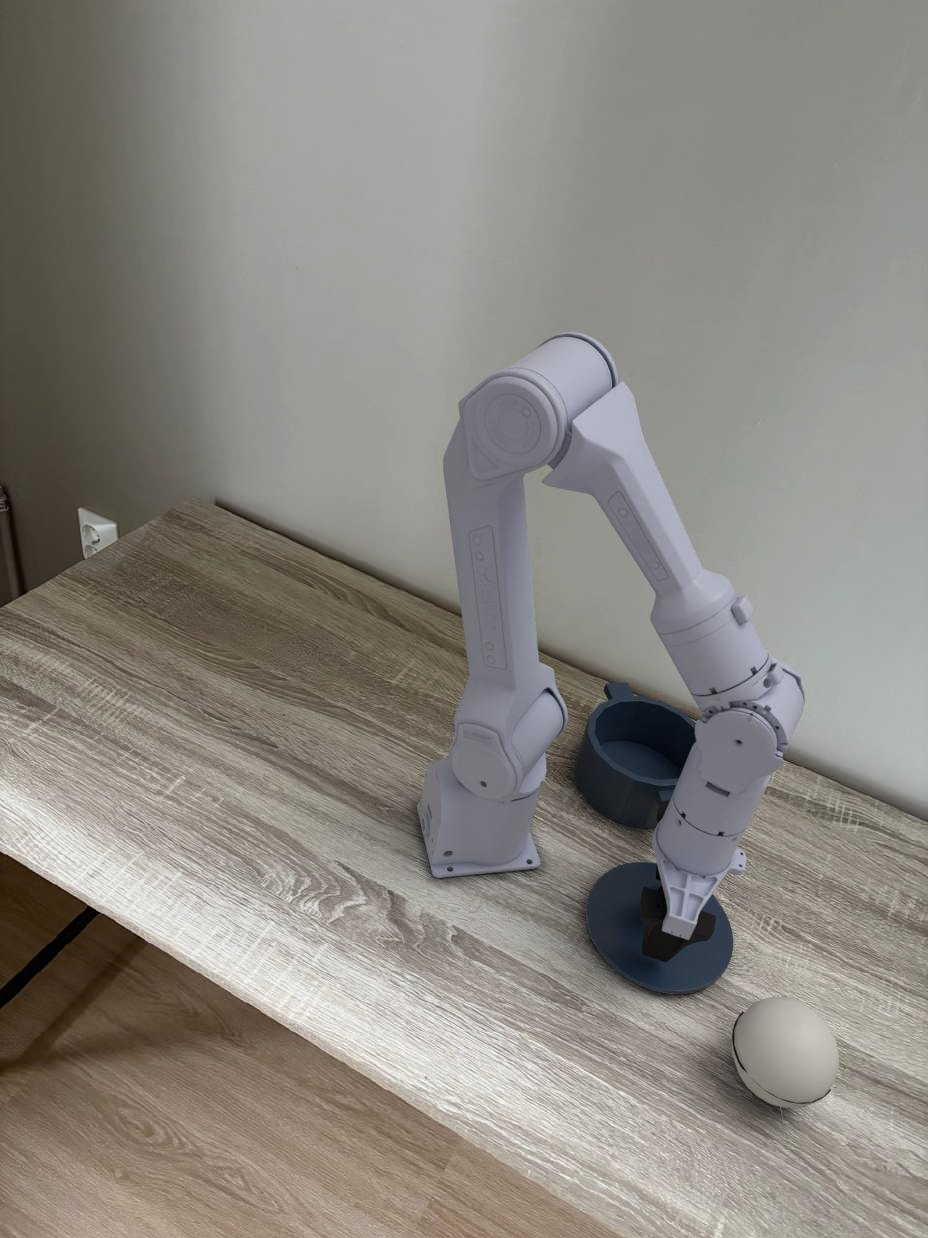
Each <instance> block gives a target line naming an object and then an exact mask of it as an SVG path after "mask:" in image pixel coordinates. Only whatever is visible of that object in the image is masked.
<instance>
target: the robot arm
mask: <svg viewBox="0 0 928 1238" xmlns="http://www.w3.org/2000/svg"><path fill="white" fill-rule="evenodd" d="M619 381H620V380H619V373H618V369H617V365H616V363H615V361H614V358H613V356H612V355H611V354H610V352H609V350H608V349H606V347H605V346H604V345H603V344H602V343H601V342H600V341H599V340H598V339H595V338H593V337H592V336H590V335H588V334H586V333H583V332H577V331H563V332H560V333H556V334H554V335H552V336H550V337H549V338H547V339H546V340H544V341H543V342H542V343H541V344H540V345H538V346H537V347H536V348H535V349H533V350H532V351H530V352H528V353H527V354H525V355H523V357H521V358H519V359H518V360H516V361H515V362H513V363H512V364H509V366H507V367H505V368H503V369H499V370H497V371H495V372H493V373H491V374H490V375H488V376H486V378H484V379H483V380H481V382H480V383H478V384H477V385H476V386H475V387H474V388H472V389H471V390H470V391H469V392H467V394H465V395H464V396H463V397H462V398H461V399H459V401H458V403H457V405H458V413H459V419H458V422H457V423H456V426H455V428H454V430H453V432H452V435H451V438H450V440H449V443H448V445H447V447H446V450H445V452H444V454H443V459H442V473H443V478H444V479H443V480H444V487H445V494H446V501H447V510H448V518H449V519H448V520H449V526H450V532H451V533H450V534H451V542H452V549H453V557H454V565H455V572H456V580H457V588H458V597H459V604H460V605H459V606H460V612H461V619H462V627H463V628H462V629H463V635H464V643H465V653H466V660H467V668H468V675H469V677H468V680H467V682H466V685H465V688H464V691H463V693H462V695H461V698H460V701H459V703H458V706H457V708H456V711H455V714H454V717H453V723H454V736H453V740H452V741H451V744H450V745H449V749H448V756H446V757H444V758H440V759H435V760H430V761H429V762H428V763H427V765H426V767H425V774H424V779H423V786H422V791H421V795H420V801H419V802H418V803H417V805H416V811H417V816H418V819H419V823H420V827H421V832H422V836H423V841H424V844H425V848H426V849H425V850H426V854H427V857H428V861H429V866H430V871H431V874H432V876H433V877H434V878H438V879H439V878H450V877H451V878H452V877H461V876H470V875H471V876H472V875H482V874H483V875H484V874H492V873H503V872H513V871H514V872H515V871H525V870H535V869H538V868H540V866H541V859H540V856H539V853H538V850H537V848H536V844H535V841H534V839H533V836H532V832H531V827H532V824H533V820H534V817H535V813H536V810H537V806H538V802H539V799H540V796H541V791H542V788H543V785H544V782H545V779H546V775H547V753H546V752H547V750H548V749H549V747H550V746H551V745H552V743H553V742H554V741H555V739H556V738H558V737H560V735H561V734H562V733H563V732H564V731H565V729H566V728H567V725H568V721H569V711H568V708H567V705H566V702H565V700H564V699H563V697H562V694H560V693H561V692H559V690H558V687H557V683H556V679H555V678H556V677H555V670H554V669H553V667H551V666H549V665H547V664H545V663H543V662H541V661H540V657H539V645H538V635H537V624H536V612H535V611H536V610H535V598H534V590H533V589H534V588H533V587H534V586H533V577H532V576H533V574H532V565H531V553H530V541H529V540H530V539H529V529H528V518H527V505H526V494H525V481H524V479H525V476H526V474H528V473H531V472H535V471H536V470H539V469H541V468H543V467H545V466H546V465H547V466H548V467H549V468H550V469H552V470H551V471H550V472H549V473H548V474H547V475H546V476H545V477H544V478H543V479H542V480H541V483H542V484H543V485H545V486H547V487H551V488H556V489H560V490H564V491H566V490H567V491H572V492H576V493H582V494H587V495H590V496H592V497H593V498H594V499H595V501H596V502H597V504H598V506H599V507H600V509H601V510H602V512H603V513H604V515H605V517H606V518H607V520H608V521H609V523H610V524H611V526H612V528H613V530H614V531H615V532H616V534H617V535H618V537H619V539H620V540H621V542H622V543H623V545H624V546H625V548H626V550H627V551H628V552H629V554H630V555H631V557H632V559H633V561H634V563H636V565H637V566H638V568H639V570H640V571H641V573H642V575H643V576H644V578H645V579H646V581H647V582H648V583H649V585H650V587H651V588H652V590H653V592H654V595H655V596H654V597H655V598H654V603H653V606H652V609H651V611H650V617H649V620H650V623H651V625H652V626H653V629H654V630H655V632H656V634H657V635H658V637H659V639H660V641H661V642H662V645H663V646H664V648H665V650H666V652H667V653H668V656H669V657H670V659H671V660H672V663H673V664H674V666H675V668H676V670H677V671H678V674H679V675H680V677H681V679H682V680H683V682H684V684H685V686H686V688H687V690H688V692H689V694H690V695H691V697H692V699H693V701H694V702H695V704H696V705H697V707H698V709H699V711H700V712H701V713H702V715H701V717H700V719H697V720H696V722H695V723H696V725H695V737H696V742H695V743H694V745H693V746H692V748H691V751H690V753H689V756H688V758H687V761H686V763H685V765H684V768H683V770H682V773H681V775H680V778H679V780H678V783H677V785H676V787H675V790H674V792H673V794H672V797H671V799H670V800H664V801H662V802H661V803H660V805H659V808H658V813H657V822H658V825H657V826H656V828H654V831H653V834H652V839H651V840H652V841H651V844H652V850H653V853H654V858H655V861H656V862H655V863H656V864H657V866H656V880H659V881H661V882H662V886H663V890H664V893H662V892H659V891H657V890H654V889H651V888H648V887H645V886H644V887H643V889H642V894H641V899H640V904H639V915H640V918H641V920H642V922H643V924H644V935H643V940H642V954H643V955H645V956H648V957H651V958H654V959H657V960H659V961H662V962H665V963H666V962H668V961H669V960H670V959H672V958H673V957H674V956H675V955H676V954H677V953H679V952H680V951H681V950H682V949H683V948H685V947H686V946H688V945H690V944H693V943H696V942H702V941H708V940H709V939H710V937H711V936H712V935H713V933H714V930H715V922H716V916H715V915H713V914H710V913H707V912H704V911H701V910H702V908H703V907H704V905H705V904H706V903H707V901H708V900H709V898H710V897H711V895H713V894H714V893H715V892H716V890H717V888H719V886H720V884H721V883H722V881H723V880H724V878H725V877H726V876H727V875H728V874H732V875H736V876H742V875H743V874H744V872H745V870H746V867H747V858H748V856H747V853H746V852H745V850H742V849H740V848H738V846H739V845H740V842H741V841H742V839H743V837H744V835H745V832H746V830H747V828H748V827H749V824H750V822H751V820H752V818H753V817H754V814H755V812H756V811H757V808H758V806H759V804H760V802H761V801H762V798H763V796H764V794H765V793H766V790H767V788H768V786H769V784H770V782H771V779H772V778H771V777H772V774H773V773H775V772H776V771H778V770H779V769H780V768H781V766H782V765H783V763H784V759H783V758H784V756H785V753H786V751H787V749H788V747H789V745H790V742H791V740H792V738H793V736H794V733H795V731H796V729H797V727H798V724H799V722H800V719H801V718H802V715H803V712H804V707H805V704H806V692H805V689H804V686H803V683H802V676H801V675H800V674H799V673H798V672H797V671H796V670H795V669H794V668H793V667H792V666H790V665H789V664H787V663H786V662H784V661H782V660H780V659H778V658H776V657H775V656H773V655H772V654H771V652H770V650H769V649H768V648H766V646H765V643H764V642H763V640H762V638H761V636H760V634H759V632H758V631H757V629H756V627H755V625H754V622H753V621H752V620H751V618H752V616H753V614H754V612H755V608H754V607H753V606H754V605H753V604H752V602H751V600H750V599H749V597H748V596H747V595H746V594H744V595H741V596H739V595H738V592H737V591H736V589H735V588H734V585H733V584H732V582H731V580H730V579H729V578H728V577H726V576H724V575H722V574H719V573H716V572H713V571H710V570H709V569H708V570H707V569H705V568H704V567H703V565H702V563H701V562H700V559H699V557H698V554H697V552H696V550H695V548H694V545H693V544H692V541H691V540H690V537H689V535H688V533H687V530H686V527H685V526H684V524H683V521H682V520H681V517H680V515H679V512H678V511H677V508H676V506H675V504H674V502H673V499H672V497H671V495H670V493H669V491H668V489H667V486H666V484H665V482H664V479H663V477H662V475H661V472H660V471H659V469H658V466H657V465H656V462H655V460H654V458H653V455H652V453H651V451H650V449H649V446H648V444H647V442H646V439H645V436H644V433H643V429H642V425H641V421H640V417H639V412H638V407H637V404H636V399H635V396H634V394H633V393H632V391H631V390H630V388H629V387H628V386H627V384H626V383H625V381H624V380H621V381H620V382H619ZM449 870H450V871H449Z"/></svg>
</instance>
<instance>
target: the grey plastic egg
mask: <svg viewBox="0 0 928 1238" xmlns="http://www.w3.org/2000/svg"><path fill="white" fill-rule="evenodd" d="M838 1047H839V1046H838V1042H837V1040H836V1037H835V1034H834V1032H833V1030H832V1028H831V1026H830V1025H829V1023H828V1022H827V1021H826V1020H825V1018H824V1017H823V1015H821V1014H820V1013H819V1012H818V1011H817V1010H816V1009H814V1008H813V1007H812V1006H810V1005H809V1004H807V1003H805V1002H803V1001H802V1000H799V999H795V998H792V997H788V996H771V997H765V998H763V999H760V1000H758V1001H756V1002H753V1003H752V1004H751V1005H750V1006H749V1007H748V1008H747V1009H746V1010H745V1011H741V1012H740V1014H738V1016H737V1018H736V1019H735V1022H734V1024H733V1027H732V1033H731V1055H732V1059H733V1061H734V1064H735V1067H736V1070H737V1073H738V1076H739V1077H740V1078H741V1080H742V1081H743V1083H744V1085H745V1086H746V1088H748V1089H749V1090H750V1092H752V1093H753V1094H754V1095H755V1096H756V1097H757V1098H759V1099H761V1100H762V1101H764V1102H765V1103H767V1104H769V1105H773V1106H776V1107H780V1112H781V1113H780V1114H781V1117H782V1124H785V1122H784V1121H785V1120H784V1115H783V1111H782V1108H786V1109H796V1108H799V1109H800V1108H806V1107H808V1106H810V1105H812V1104H814V1103H817V1102H820V1100H822V1099H824V1098H825V1097H827V1095H829V1094H830V1092H831V1091H832V1089H831V1088H832V1087H833V1086H834V1083H835V1080H836V1078H837V1074H838V1070H839V1067H840V1056H839V1048H838ZM783 1129H784V1134H785V1138H786V1140H787V1139H788V1136H787V1132H786V1127H785V1126H783Z"/></svg>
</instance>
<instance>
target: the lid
mask: <svg viewBox="0 0 928 1238" xmlns="http://www.w3.org/2000/svg"><path fill="white" fill-rule="evenodd" d="M656 866H657V862H650V861H649V862H648V861H647V862H646V861H635V862H628V863H624V864H621V865H616V866H615V867H613V868H611V869H609V870H607V871H606V872H605V873H603V874H602V875H601V876H600V877H599V878H598V879H597V880H596V882H595V883H593V885H592V887H591V890H590V892H589V894H588V897H587V900H586V904H585V919H586V926H587V930H588V933H589V936H590V938H591V940H592V943H593V944H594V946H595V948H596V949H597V952H599V954H600V955H601V956H602V958H603V959H604V960H605V961H606V962H607V964H608V965H609V966H610V967H611V968H612V969H614V970H615V971H616V972H617V973H618V974H620V976H622V977H624V978H625V979H627V980H629V981H630V982H631V983H634V984H636V985H637V986H640V987H643V988H645V989H647V990H651V991H654V992H657V993H662V994H669V995H683V994H684V995H685V994H686V995H687V994H692V993H696V992H699V991H702V990H704V989H706V988H708V987H710V986H711V985H713V984H715V983H716V982H718V980H719V979H720V978H721V977H722V976H723V974H724V973H725V972H726V970H727V969H728V966H729V965H730V963H731V960H732V957H733V953H734V935H733V929H732V925H731V922H730V920H729V917H728V915H727V913H726V911H725V910H724V907H722V905H721V903H720V902H719V900H718V899H717V898H716V897H715V895H713V894H712V895H711V897H710V898H709V900H708V901H707V903H706V904H705V905H704V907H703V908H702V910H701V911H704V912H707V913H710V914H713V915H715V916H716V922H715V930H714V933H713V935H712V936H711V937H710V939H709V940H708V941H702V942H696V943H693V944H690V945H688V946H686V947H685V948H683V949H682V950H681V951H680V952H679V953H677V954H676V955H675V956H674V957H673V958H672V959H670V960H669V961H668V962H666V963H665V962H662V961H659V960H657V959H654V958H651V957H648V956H645V955H643V954H642V940H643V935H644V924H643V922H642V920H641V918H640V915H639V904H640V899H641V894H642V889H643V887H644V886H645V887H648V888H651V889H654V890H657V891H659V892H662V893H664V890H663V886H662V882H661V881H659V880H656Z"/></svg>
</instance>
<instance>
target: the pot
mask: <svg viewBox="0 0 928 1238" xmlns="http://www.w3.org/2000/svg"><path fill="white" fill-rule="evenodd" d="M603 693H604V695H605V697H606V699H607V700H606V701H604V702H602V703H600V704H598V705H597V707H595V709H594V710H593V711H592V712H591V714H590V715H589V716H588V719H587V723H586V726H585V729H584V733H583V736H582V739H581V742H580V745H579V747H578V751H577V754H576V759H575V766H574V777H575V782H576V785H577V787H578V790H579V792H580V794H581V795H582V796H583V798H584V799H585V800H586V801H587V802H588V804H590V806H591V807H593V809H595V810H596V811H597V812H599V813H600V814H602V815H604V816H605V817H607V818H608V819H610V820H612V821H614V822H617V823H619V824H621V825H624V826H628V827H633V828H638V829H656V826H657V825H658V822H657V813H658V808H659V805H660V803H661V802H662V801H664V800H670V799H671V797H672V794H673V792H674V790H675V787H676V785H677V783H678V780H679V778H680V775H681V773H682V770H683V768H684V765H685V763H686V761H687V758H688V756H689V753H690V751H691V748H692V746H693V745H694V743H695V742H696V737H695V725H696V722H695V721H694V720H693V719H692V718H691V717H690V716H689V715H688V714H686V712H684V711H683V710H681V709H678V708H676V707H674V706H672V705H670V704H668V703H666V702H664V701H662V700H659V699H655V698H650V697H646V696H641V695H635V693H634V692H633V690H632V688H631V685H630V684H629V682H627V681H626V682H606V683H605V684H604V688H603Z"/></svg>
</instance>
